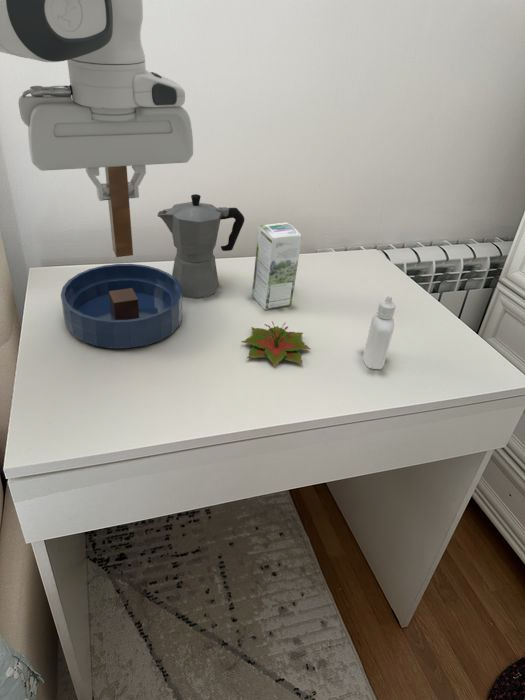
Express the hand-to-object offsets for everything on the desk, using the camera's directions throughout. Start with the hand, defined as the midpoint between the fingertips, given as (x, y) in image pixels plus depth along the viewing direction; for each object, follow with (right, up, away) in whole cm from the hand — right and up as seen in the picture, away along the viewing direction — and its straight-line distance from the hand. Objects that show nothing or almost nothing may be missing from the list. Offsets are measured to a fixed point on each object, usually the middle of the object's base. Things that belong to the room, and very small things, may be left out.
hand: (118, 197), depth 72 cm
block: (-4, -15, +19) cm, 24 cm away
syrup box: (+21, -12, +28) cm, 37 cm away
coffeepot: (+7, -9, +30) cm, 32 cm away
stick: (-1, -7, +5) cm, 8 cm away
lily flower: (+22, -20, +16) cm, 34 cm away
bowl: (-4, -15, +19) cm, 25 cm away
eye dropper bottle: (+38, -22, +15) cm, 46 cm away
